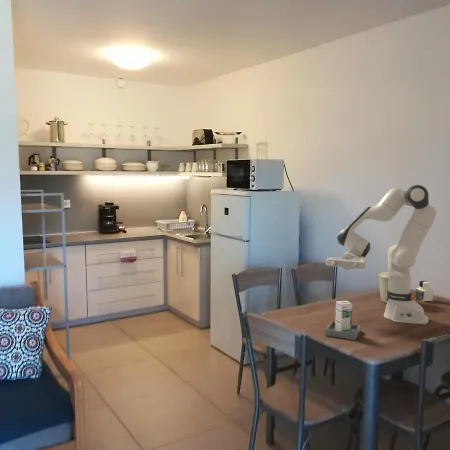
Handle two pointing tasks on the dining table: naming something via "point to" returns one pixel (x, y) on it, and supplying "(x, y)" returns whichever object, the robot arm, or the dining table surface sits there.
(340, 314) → the syrup box
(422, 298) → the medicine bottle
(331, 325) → the tray
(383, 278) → the canister
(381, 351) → the dining table surface
